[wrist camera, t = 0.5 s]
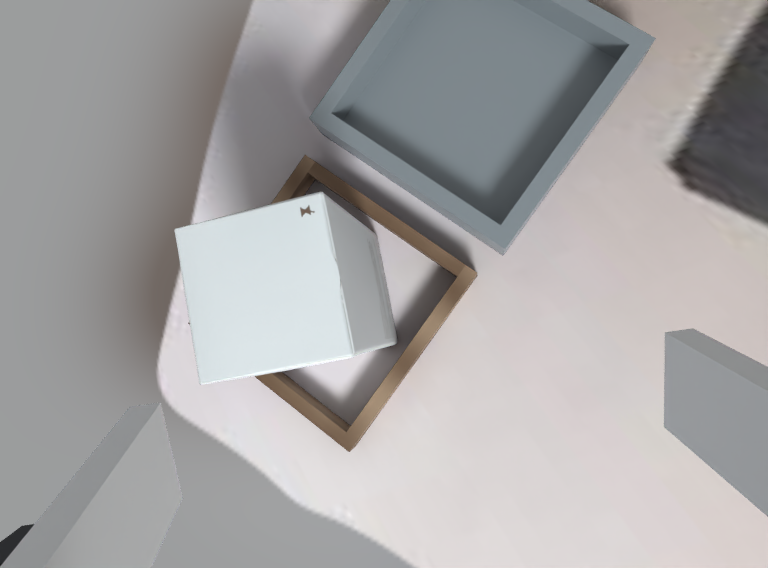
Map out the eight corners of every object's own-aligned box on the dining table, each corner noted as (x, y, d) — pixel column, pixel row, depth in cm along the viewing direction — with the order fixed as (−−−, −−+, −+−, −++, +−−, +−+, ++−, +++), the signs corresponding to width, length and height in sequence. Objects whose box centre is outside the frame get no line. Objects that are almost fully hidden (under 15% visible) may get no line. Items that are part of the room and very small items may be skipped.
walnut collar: (312, 162, 45) (304, 154, 43) (477, 275, 42) (477, 272, 40) (200, 323, 46) (188, 323, 44) (355, 446, 43) (349, 452, 41)
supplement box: (270, 256, 45) (168, 222, 30) (377, 232, 44) (325, 184, 29) (289, 368, 44) (193, 388, 29) (400, 347, 43) (356, 357, 28)
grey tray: (447, -47, 44) (444, -79, 41) (641, 62, 41) (655, 38, 38) (322, 134, 45) (309, 118, 42) (503, 255, 42) (505, 249, 38)
